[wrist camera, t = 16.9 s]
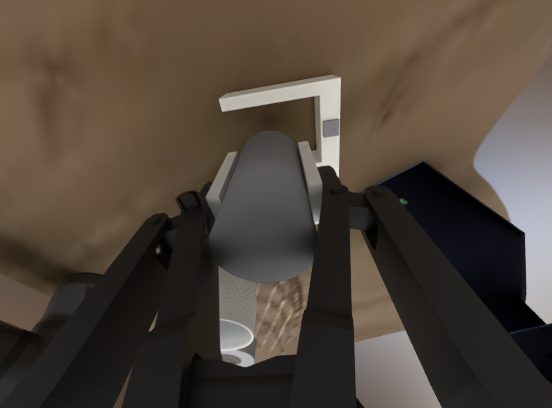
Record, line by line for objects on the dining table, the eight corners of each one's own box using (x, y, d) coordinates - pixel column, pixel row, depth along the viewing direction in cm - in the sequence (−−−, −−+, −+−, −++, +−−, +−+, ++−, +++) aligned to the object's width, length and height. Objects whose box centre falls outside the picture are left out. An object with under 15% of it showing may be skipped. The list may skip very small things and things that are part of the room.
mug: (181, 241, 38) (144, 313, 27) (235, 225, 36) (217, 296, 25) (222, 286, 46) (205, 355, 35) (268, 275, 44) (265, 345, 33)
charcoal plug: (248, 189, 19) (227, 286, 11) (233, 135, 16) (190, 214, 8) (302, 182, 19) (320, 278, 11) (296, 125, 16) (316, 198, 8)
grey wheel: (193, 337, 61) (187, 357, 57) (232, 323, 56) (229, 344, 52) (228, 354, 69) (225, 373, 65) (266, 343, 64) (265, 363, 60)
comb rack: (258, 214, 34) (255, 233, 31) (226, 93, 24) (217, 100, 20) (331, 205, 33) (338, 224, 30) (331, 74, 23) (342, 78, 19)
